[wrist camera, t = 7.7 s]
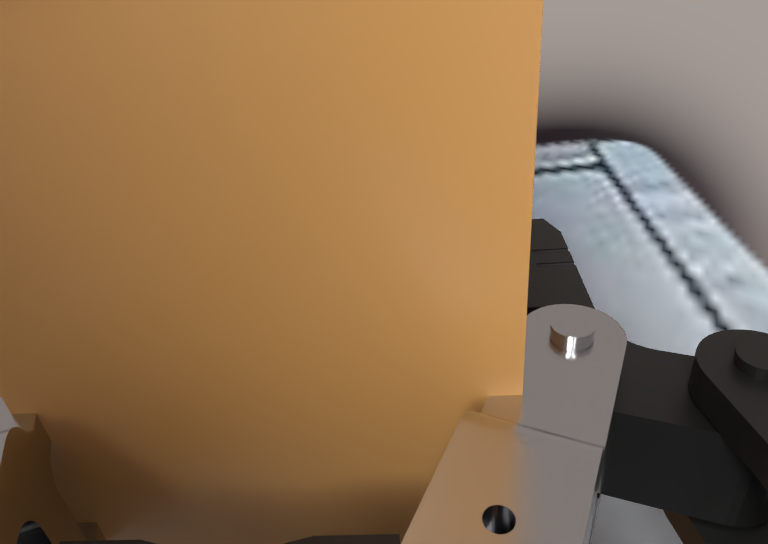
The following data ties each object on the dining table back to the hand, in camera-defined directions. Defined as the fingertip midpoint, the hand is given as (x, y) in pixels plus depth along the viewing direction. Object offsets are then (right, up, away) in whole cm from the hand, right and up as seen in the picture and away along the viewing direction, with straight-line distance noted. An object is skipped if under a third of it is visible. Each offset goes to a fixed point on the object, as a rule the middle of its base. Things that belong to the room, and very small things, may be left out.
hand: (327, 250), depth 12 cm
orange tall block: (+1, -8, +2) cm, 8 cm away
